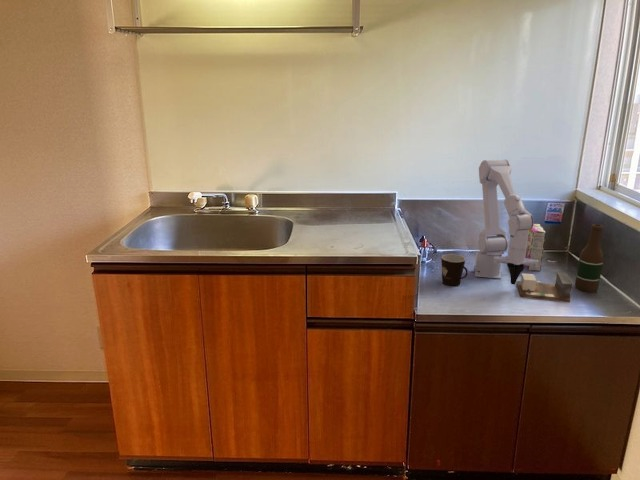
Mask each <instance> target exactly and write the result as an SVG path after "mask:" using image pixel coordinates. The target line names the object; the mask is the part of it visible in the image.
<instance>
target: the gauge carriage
mask: <svg viewBox="0 0 640 480" xmlns="http://www.w3.org/2000/svg"><path fill="white" fill-rule="evenodd" d="M520 277H521V278H520V281H521V287H522V290H527V291H528V292H529V293H530V294H531V292H530V291H535V286H536V285H541V283H542V281H541V280H537V279H536V276H535V274H534V273H533V274H532V273H523V272H521V276H520Z"/></svg>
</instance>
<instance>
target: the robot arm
mask: <svg viewBox="0 0 640 480" xmlns="http://www.w3.org/2000/svg"><path fill="white" fill-rule="evenodd" d="M511 173H512V166H511V163H510V161H509V160H508V159H497V160H494V159H492V160H487V159H486V160H482V161H481V162H480V165H479V167H478V178H479V183H480V184H481V185H482V186H481V188H482V202H483V211H484V212H483V214H484V229H483V230H482V231H480V232H479V233H478V241H477V246H478V250H479V251H476V254H475V261H474V268H473V270H474V277H478V278H489V279H496V280H497V279H502V274H501V265H502V264H505V265H507V266H506V267H507V269H508V272H509V275H510V276H509V277H510V285H516V281H518V278H519V276H520V275H521V274H522V273H523V271H524V270H525V269H524V268H525V267H524V266H526V265H528V266H535V267H538V263H539V262H538V260H533V259H528V258H525V255H526V248H527V241H528V234H529V230H530V229H532V228H533V225H534V224H535V219H534V216H533V215H532V213H530V212H529V211H528V210H526V208H525V205H524V203H523V201H522V199H521V196H520V195H518V194H516V192H515V189H514V185H513V182H512V179H511V176H510V175H511ZM498 186H499V188H500V190H501V192H502V194H503V196H504V200H503V204H504V207H505V210H506V213H507V214H508V217H509V219H508V221H507V223H508V227H509V228H508V233H509V235H510V236H509V240H508V237H507V232H506V231H505V230H504V229H502V228H501V227H500V216H499V202H498V201H499V200H498V190H497V189H498V188H497V187H498ZM506 251H507V256H505V255H504V254H505V252H506ZM503 255H504V256H503Z"/></svg>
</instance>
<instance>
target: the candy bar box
mask: <svg viewBox="0 0 640 480" xmlns="http://www.w3.org/2000/svg"><path fill="white" fill-rule="evenodd" d="M546 233H547V232H546V231H545V229H544V227H543V226H542V225H541V224H539V223H534V225H533V228H532V229H530V230H529V234H528V241H527V248H526V255H525V258H528V259H533V260H538V262H539V263H538V267H535V266H528V265H525V266H526V268H527V270H528V271H532V272H533V271H535V272H541V270H542V264H543V263H542V262H543V256H544V248H545V241H546V235H547V234H546Z"/></svg>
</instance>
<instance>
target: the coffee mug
mask: <svg viewBox="0 0 640 480" xmlns="http://www.w3.org/2000/svg"><path fill="white" fill-rule="evenodd" d="M440 258H441V259H440V261H441V280H442V281H441V284H442V285H445V286H447V287H460V285H461V282H462V281H461V280H463V279H465V278H467V276H468V269H467V268H466V267H465V264H466V257H465V256H463V255H459V254H456V253H455V254H454V253H447V254H446V253H445V254H442V255H441V257H440ZM464 271H465V274H464V273H463V272H464ZM463 274H464V276H463Z"/></svg>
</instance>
